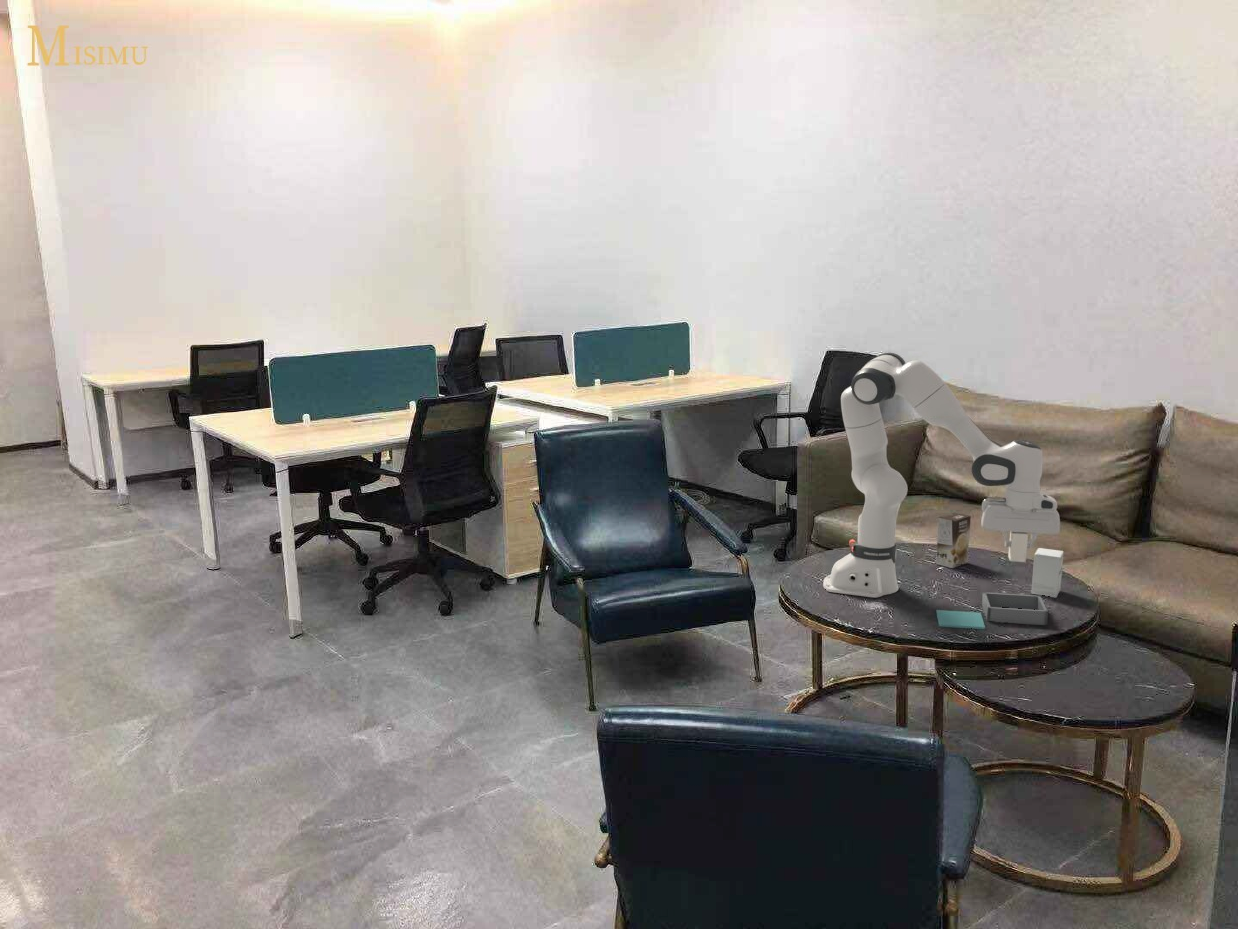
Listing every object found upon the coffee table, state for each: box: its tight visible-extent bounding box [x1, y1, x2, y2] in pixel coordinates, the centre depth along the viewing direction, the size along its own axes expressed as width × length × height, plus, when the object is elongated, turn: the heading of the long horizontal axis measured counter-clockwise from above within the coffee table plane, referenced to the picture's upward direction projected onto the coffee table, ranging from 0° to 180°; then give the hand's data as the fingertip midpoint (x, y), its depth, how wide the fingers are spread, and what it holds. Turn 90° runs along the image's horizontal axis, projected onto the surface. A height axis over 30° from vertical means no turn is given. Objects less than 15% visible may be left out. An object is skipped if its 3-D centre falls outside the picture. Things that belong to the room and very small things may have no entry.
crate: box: [981, 592, 1049, 626], centre depth 280 cm, size 16×13×4 cm
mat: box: [935, 609, 986, 630], centre depth 277 cm, size 12×11×1 cm
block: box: [1007, 532, 1029, 563], centre depth 276 cm, size 4×4×8 cm
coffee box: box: [935, 512, 972, 569], centre depth 323 cm, size 9×6×16 cm
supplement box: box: [1030, 547, 1065, 599], centre depth 296 cm, size 7×7×13 cm
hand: (1017, 547), depth 276 cm, fingers closed on block, 4 cm apart
